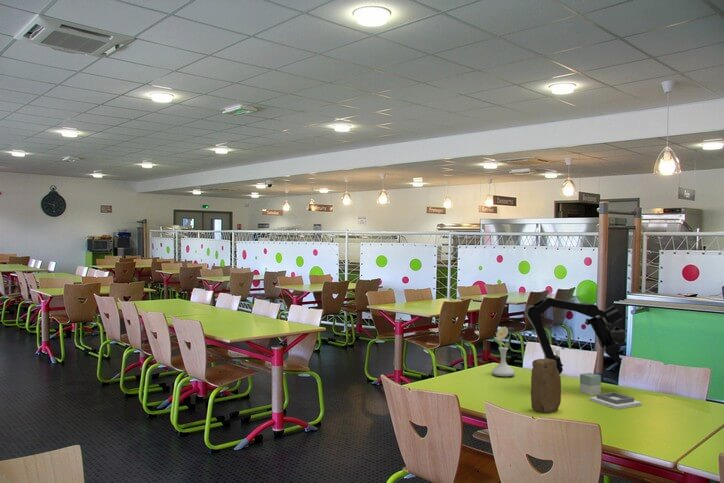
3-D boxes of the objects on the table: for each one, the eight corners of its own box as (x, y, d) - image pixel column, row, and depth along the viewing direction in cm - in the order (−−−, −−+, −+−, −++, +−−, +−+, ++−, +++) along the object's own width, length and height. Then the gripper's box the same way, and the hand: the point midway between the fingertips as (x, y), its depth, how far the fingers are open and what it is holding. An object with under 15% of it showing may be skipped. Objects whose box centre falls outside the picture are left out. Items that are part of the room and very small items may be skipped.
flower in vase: (489, 372, 283) (489, 323, 284) (511, 373, 283) (512, 324, 283) (494, 378, 270) (495, 327, 271) (518, 379, 270) (518, 327, 270)
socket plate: (616, 409, 220) (616, 402, 220) (589, 400, 233) (589, 393, 233) (641, 405, 226) (641, 398, 226) (613, 396, 239) (613, 390, 239)
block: (541, 414, 213) (541, 362, 213) (528, 409, 220) (528, 358, 220) (563, 411, 217) (563, 360, 217) (550, 406, 224) (550, 356, 224)
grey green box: (590, 395, 241) (590, 376, 241) (580, 391, 247) (580, 373, 247) (600, 393, 244) (600, 375, 244) (590, 390, 249) (590, 372, 249)
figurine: (551, 373, 282) (551, 344, 282) (564, 377, 273) (564, 347, 274) (539, 374, 280) (540, 345, 280) (552, 379, 271) (552, 348, 271)
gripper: (623, 326, 235) (641, 359, 234) (613, 317, 253) (630, 348, 252) (598, 337, 238) (615, 370, 237) (590, 327, 256) (606, 358, 255)
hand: (617, 361), depth 245 cm, fingers open, 9 cm apart
